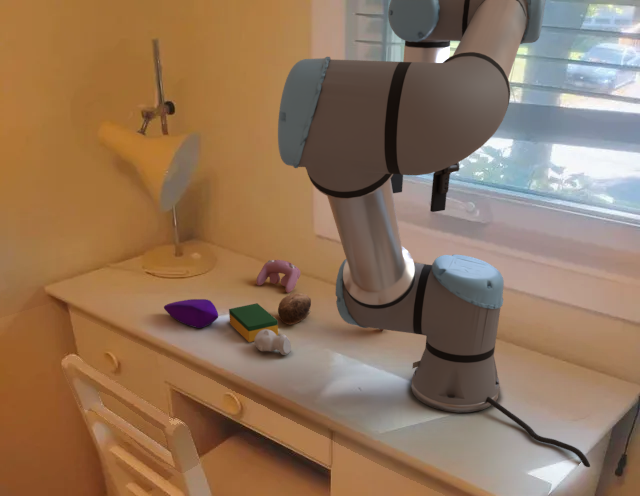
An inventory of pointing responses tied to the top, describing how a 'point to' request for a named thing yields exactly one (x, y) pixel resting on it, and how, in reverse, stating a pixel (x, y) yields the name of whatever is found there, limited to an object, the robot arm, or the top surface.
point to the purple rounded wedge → (193, 312)
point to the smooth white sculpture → (272, 342)
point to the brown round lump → (294, 308)
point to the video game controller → (273, 270)
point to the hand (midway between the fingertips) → (415, 201)
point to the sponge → (252, 320)
